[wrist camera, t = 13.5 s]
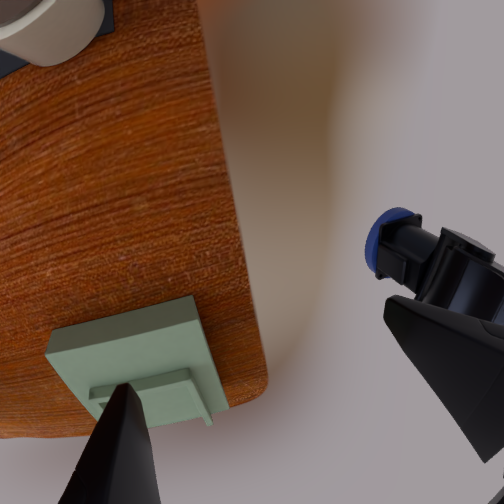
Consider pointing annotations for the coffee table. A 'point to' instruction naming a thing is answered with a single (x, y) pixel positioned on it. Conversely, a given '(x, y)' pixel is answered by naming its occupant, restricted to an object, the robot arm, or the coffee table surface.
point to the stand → (142, 362)
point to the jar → (48, 28)
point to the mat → (7, 63)
